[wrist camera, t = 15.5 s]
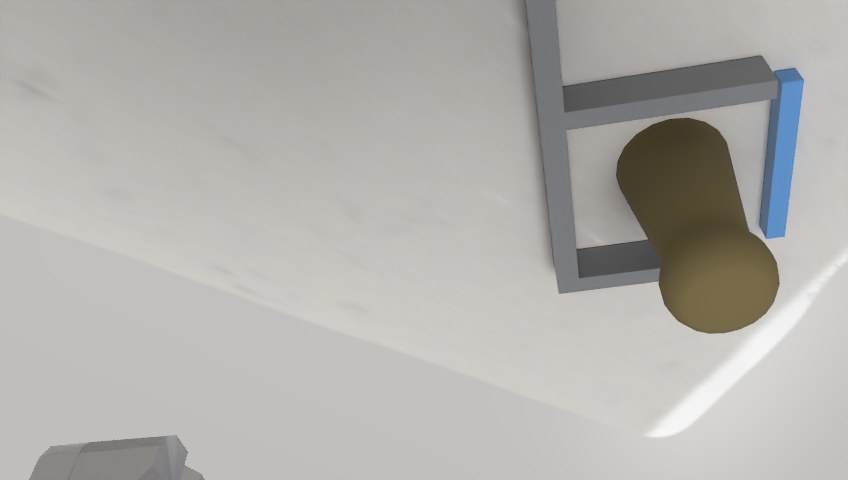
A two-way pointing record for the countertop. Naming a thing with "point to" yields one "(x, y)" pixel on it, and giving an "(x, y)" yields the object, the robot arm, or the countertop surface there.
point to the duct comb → (638, 102)
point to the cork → (697, 226)
